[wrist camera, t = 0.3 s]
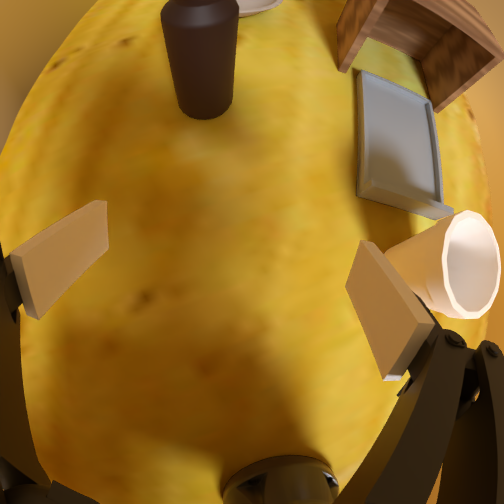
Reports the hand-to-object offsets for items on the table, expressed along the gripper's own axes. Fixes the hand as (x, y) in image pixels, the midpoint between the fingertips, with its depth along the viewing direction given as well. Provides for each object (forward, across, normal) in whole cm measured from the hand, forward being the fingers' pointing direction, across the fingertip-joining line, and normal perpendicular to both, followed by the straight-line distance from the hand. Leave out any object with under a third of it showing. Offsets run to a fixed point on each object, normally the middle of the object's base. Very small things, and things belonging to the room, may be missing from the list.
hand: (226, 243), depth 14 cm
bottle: (+24, +7, -8) cm, 26 cm away
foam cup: (+16, -20, +7) cm, 26 cm away
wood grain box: (+34, -20, -23) cm, 45 cm away
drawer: (+25, -20, -8) cm, 33 cm away
